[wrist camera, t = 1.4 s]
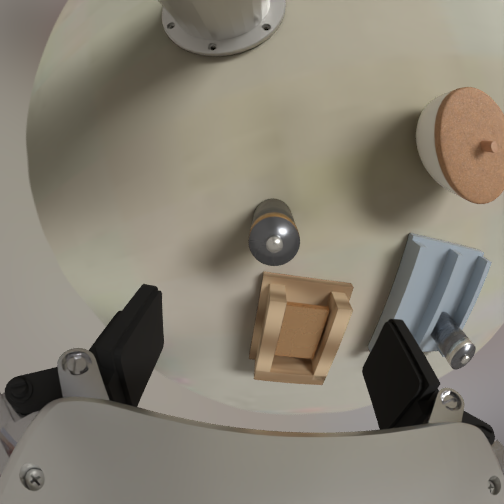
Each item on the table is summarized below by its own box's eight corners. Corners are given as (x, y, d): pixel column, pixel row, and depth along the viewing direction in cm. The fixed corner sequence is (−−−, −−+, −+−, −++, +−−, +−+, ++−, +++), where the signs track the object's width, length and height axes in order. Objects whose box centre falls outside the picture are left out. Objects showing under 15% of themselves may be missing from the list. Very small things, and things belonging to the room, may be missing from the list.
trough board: (409, 232, 27) (422, 241, 24) (480, 250, 27) (492, 258, 24) (367, 346, 33) (373, 361, 30) (437, 346, 33) (445, 359, 30)
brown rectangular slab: (286, 301, 28) (286, 305, 28) (328, 306, 28) (329, 310, 28) (274, 350, 31) (274, 355, 30) (312, 354, 31) (312, 358, 30)
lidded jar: (468, 193, 25) (520, 213, 16) (398, 184, 25) (447, 203, 17) (470, 107, 21) (522, 105, 12) (397, 86, 21) (446, 68, 13)
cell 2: (434, 310, 29) (463, 348, 22) (453, 312, 29) (482, 347, 22) (423, 334, 31) (448, 373, 23) (442, 334, 31) (467, 371, 23)
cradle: (263, 271, 30) (263, 292, 25) (351, 283, 30) (362, 304, 25) (249, 353, 34) (247, 378, 30) (323, 360, 34) (328, 385, 30)
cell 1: (256, 195, 27) (251, 215, 19) (295, 201, 27) (305, 223, 19) (251, 232, 28) (244, 265, 21) (288, 238, 28) (295, 272, 21)
